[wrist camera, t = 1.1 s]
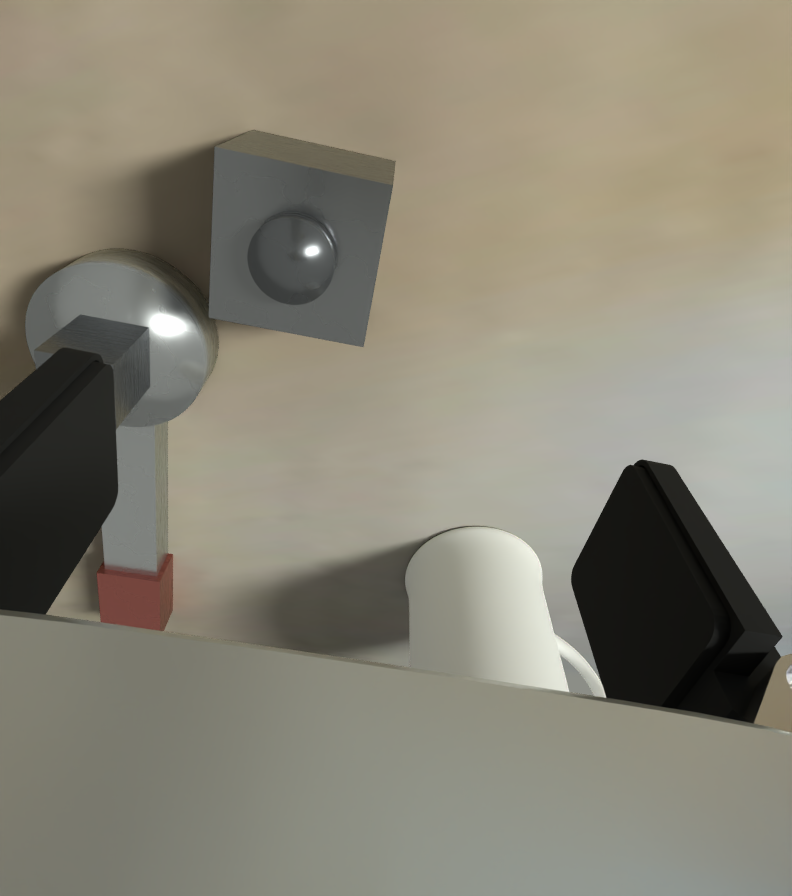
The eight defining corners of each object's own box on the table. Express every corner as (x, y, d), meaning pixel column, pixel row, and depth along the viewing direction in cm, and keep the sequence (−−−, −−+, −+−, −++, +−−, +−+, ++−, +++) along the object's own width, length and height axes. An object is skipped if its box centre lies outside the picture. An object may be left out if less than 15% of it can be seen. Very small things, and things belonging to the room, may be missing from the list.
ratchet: (44, 232, 28) (-47, 274, 22) (222, 267, 28) (178, 316, 23) (82, 596, 40) (31, 682, 34) (206, 614, 41) (175, 701, 35)
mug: (611, 575, 38) (685, 760, 28) (533, 655, 42) (574, 841, 32) (448, 504, 36) (465, 681, 25) (381, 597, 40) (373, 781, 29)
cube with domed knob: (253, 130, 25) (206, 150, 19) (395, 161, 26) (392, 190, 20) (243, 272, 28) (200, 327, 22) (370, 297, 29) (362, 357, 23)
